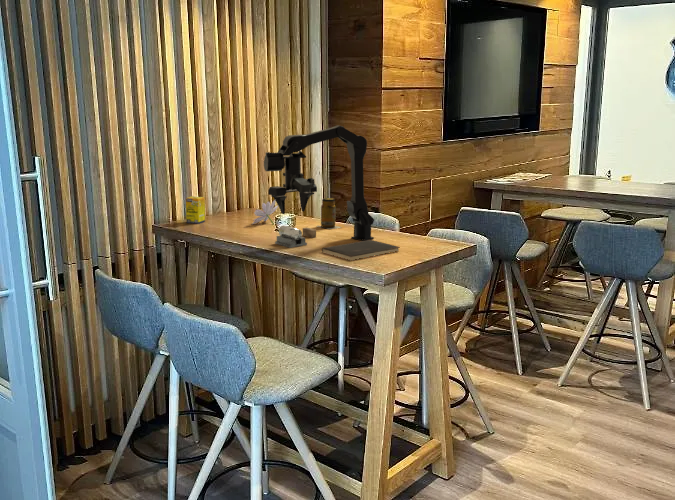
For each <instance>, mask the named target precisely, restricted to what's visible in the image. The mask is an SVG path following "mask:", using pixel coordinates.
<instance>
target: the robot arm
mask: <svg viewBox="0 0 675 500" xmlns="http://www.w3.org/2000/svg"><path fill="white" fill-rule="evenodd" d="M336 138H338V139H339V140H341V142H343V143H345V145H346V148H347V153H348V155H349V158H350V170H351V171H350V173H351V197H350V200H347V201H346V206H347V208H346V211H347V213H348V215H349V216H350V218H352V221H353V222H354V224H353V236H351V239H354V240H358V241H367V240H373V239H375V236H372V225H373V224H374V221H375V219H374V218H373V216H372V215H371V214H370V213H369V209H368V203H367V202H366V198H365V189H364V188H365V186H364V185H365V184H364V182H365V181H364V158H365V156H366V153H367V147H368V141H367V139H366V138H365V137H364V136H363V135H357V134H355V133H354V132H352V131H350V130H349V129H347V128H345V127H344V125H343V126H342V125H335V126H333V127H328V128H326V129H321V130H318V131H313V132H311V133H306V134H291V135H289V134H288V135H287V136H285V137H284V139H283V141H282V145H281V147H280V148H279V149H278V151H277V152H270V151H269V152H268V151H267V152H265V155H264V158H263V159H264V160H263V169H264V171H265V172H281V171H282V170H283V169H284V172H282V177H284V183H283V184H282V186H270V187H269V188H268V190H267V192H268V193H267V194H268V195H270V196H271V198H273V199H274V200H275V203H277V206H278V208H279V210H280V212H281V214H282V215H285V213H286V199H287V193H294V192H298V193H299V195H298V196H299V202H300V209H301V211H302V212H305V210H306V207H307V205H308V201H309V199H310V198H311V196H312V195H314V194H315V193H317V192H318V186H317V185H316V183H315V179H314V178H313V177H309V178H304V173H303V172H301V171H302V170H301V166H302V165H301V163H302V162H301V160H302V159H305V158H307V155H305V153H303V151H302V150H304V149H306V148H308V147H310V146H311V145H315V144H319V143H322V142H325V141H329V140H332V139H336Z"/></svg>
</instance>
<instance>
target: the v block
mask: <svg viewBox="0 0 675 500" xmlns="http://www.w3.org/2000/svg"><path fill="white" fill-rule="evenodd" d="M274 244H275V245H279V246H282V247H285V248H289V249H292V248H297V247H303V245H304V246H307V245H308V243H307V242H306V237H305V236H301V238H300V239H299V240H296V239H292V238H289V237H285V236H281V235H280V234H279V235H277V236H276V240H275V241H274Z"/></svg>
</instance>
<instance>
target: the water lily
mask: <svg viewBox="0 0 675 500" xmlns="http://www.w3.org/2000/svg"><path fill="white" fill-rule="evenodd" d="M275 205H276V201H275V199H274V200H273V201H272V202H271V203H270V201H267V202H266V203H265V202H262V204H261V207H262V210H261V209H255V210H254V212H253V213H254V215H255V216H257V217H256V218H254V219H253V222H252V223H251V225H255V224H257V223H259V222H261V221H264V222H266V221H268V220H269V221H270V222H271V224H272V225H275V223H274V221H273V220H272V218H271V217H270V216H271V215H272V214H273V213H274V212H276V211H277V209H278V208H279V206H278V205H276V206H275Z"/></svg>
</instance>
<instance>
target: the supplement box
mask: <svg viewBox="0 0 675 500" xmlns="http://www.w3.org/2000/svg"><path fill="white" fill-rule="evenodd" d="M205 202H206V200H205V197H204V196H192V195H191V196H189V197H186V198H185V212H186V213H185V215H186V217H185V219H186V224H196V225H200V224H202V223H205V222H206V210H205V208H206V206H205V204H206V203H205Z"/></svg>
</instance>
